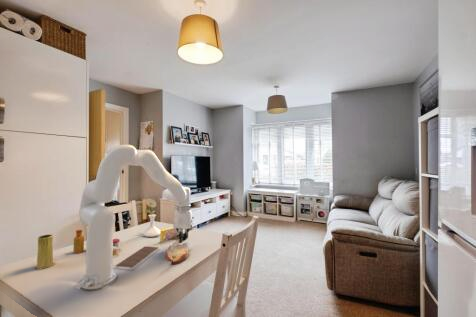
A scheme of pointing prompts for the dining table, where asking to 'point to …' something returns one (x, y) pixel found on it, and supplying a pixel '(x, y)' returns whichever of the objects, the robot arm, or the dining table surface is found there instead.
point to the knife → (177, 242)
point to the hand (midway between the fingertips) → (183, 239)
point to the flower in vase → (151, 220)
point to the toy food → (80, 243)
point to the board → (137, 257)
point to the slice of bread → (177, 254)
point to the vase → (45, 251)
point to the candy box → (169, 234)
